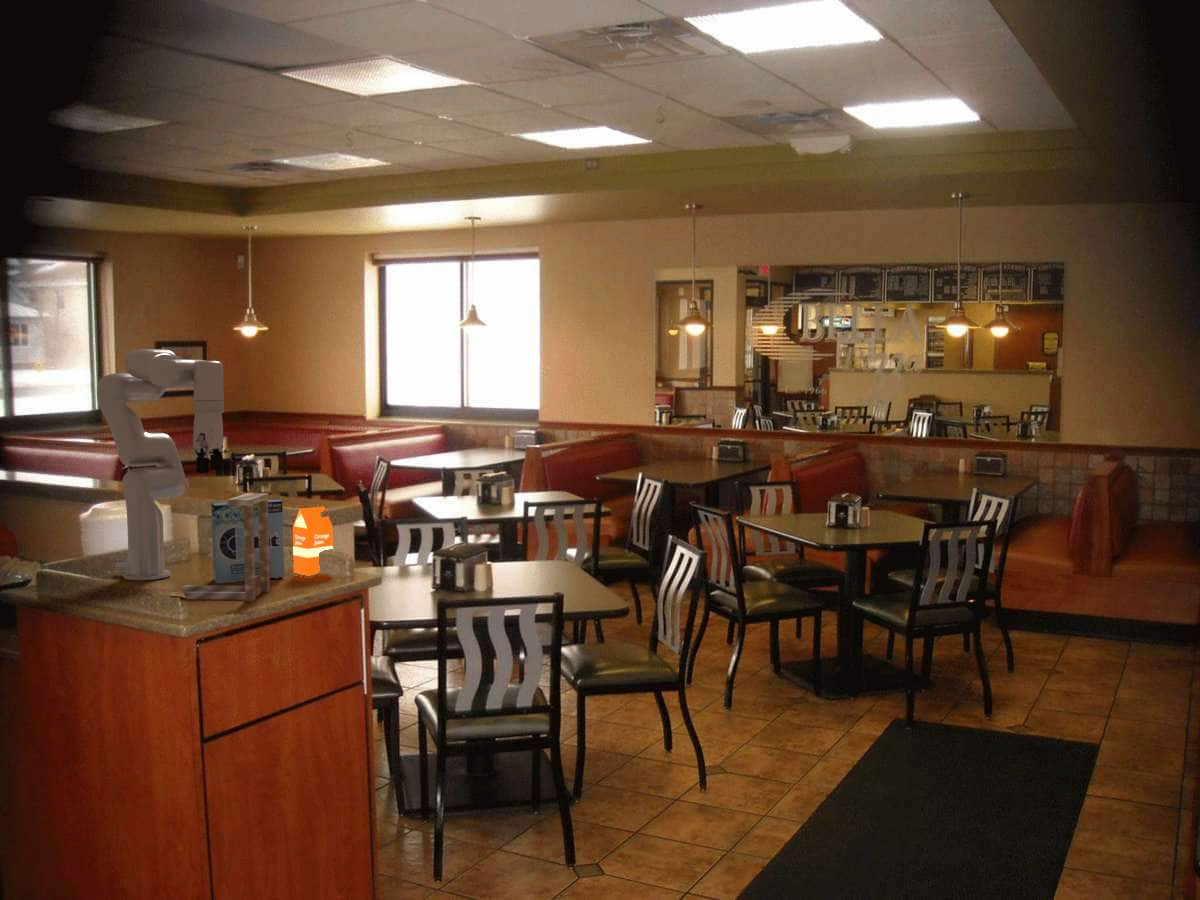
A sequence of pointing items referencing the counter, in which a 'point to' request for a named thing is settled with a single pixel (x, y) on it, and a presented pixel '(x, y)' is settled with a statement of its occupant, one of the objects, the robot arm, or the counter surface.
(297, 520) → the orange juice
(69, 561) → the counter surface
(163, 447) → the robot arm
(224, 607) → the counter surface
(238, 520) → the gum box
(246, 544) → the metal strip frame
